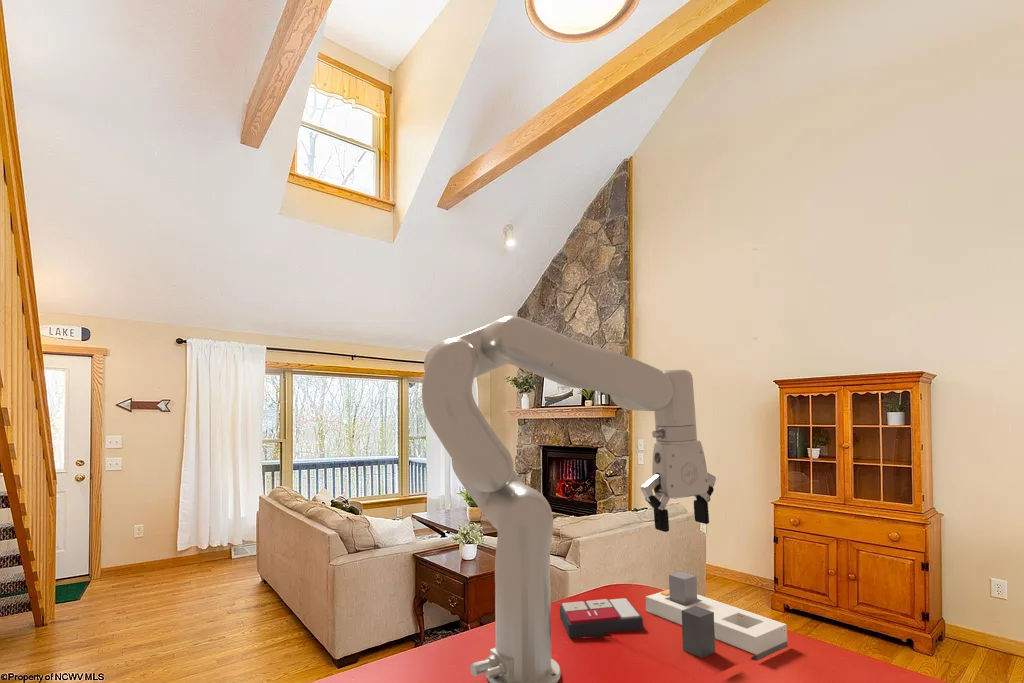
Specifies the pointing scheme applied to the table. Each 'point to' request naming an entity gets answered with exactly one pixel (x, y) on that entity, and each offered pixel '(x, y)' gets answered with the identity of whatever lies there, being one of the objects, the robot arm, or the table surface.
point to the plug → (698, 631)
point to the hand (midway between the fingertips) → (682, 526)
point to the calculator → (599, 617)
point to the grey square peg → (683, 588)
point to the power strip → (727, 624)
